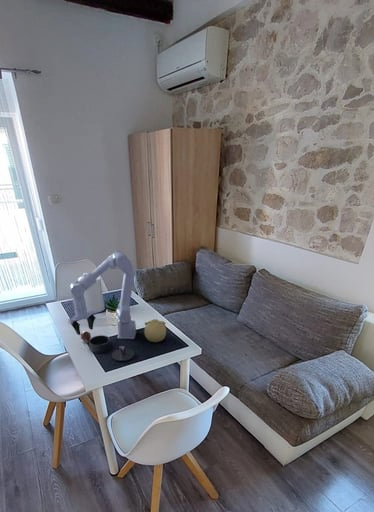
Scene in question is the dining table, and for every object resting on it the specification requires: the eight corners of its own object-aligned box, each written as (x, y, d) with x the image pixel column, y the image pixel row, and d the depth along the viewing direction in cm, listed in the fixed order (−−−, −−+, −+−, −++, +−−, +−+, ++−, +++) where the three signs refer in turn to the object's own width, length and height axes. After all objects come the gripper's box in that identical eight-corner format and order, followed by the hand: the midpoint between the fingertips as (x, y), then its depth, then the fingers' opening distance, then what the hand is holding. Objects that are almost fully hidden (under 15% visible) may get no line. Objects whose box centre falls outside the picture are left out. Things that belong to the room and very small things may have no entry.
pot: (112, 343, 163) (111, 335, 160) (108, 353, 154) (107, 345, 152) (93, 342, 163) (92, 335, 161) (88, 353, 155) (86, 345, 152)
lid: (134, 349, 158) (133, 340, 155) (135, 361, 149) (134, 352, 146) (112, 351, 156) (110, 342, 154) (111, 363, 147) (110, 354, 145)
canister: (101, 313, 193) (97, 282, 182) (80, 313, 193) (74, 281, 182) (106, 304, 205) (102, 275, 194) (86, 304, 205) (81, 274, 194)
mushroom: (92, 339, 166) (91, 329, 163) (90, 344, 162) (88, 334, 158) (83, 339, 166) (81, 329, 163) (80, 344, 162) (78, 333, 159)
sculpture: (166, 333, 173) (166, 316, 167) (165, 344, 163) (165, 326, 157) (146, 333, 172) (144, 315, 167) (144, 344, 162) (142, 326, 157)
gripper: (72, 314, 146) (77, 339, 154) (97, 304, 156) (101, 329, 163) (63, 310, 150) (69, 334, 157) (88, 301, 159) (92, 325, 167)
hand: (84, 331), depth 161 cm, fingers open, 7 cm apart
